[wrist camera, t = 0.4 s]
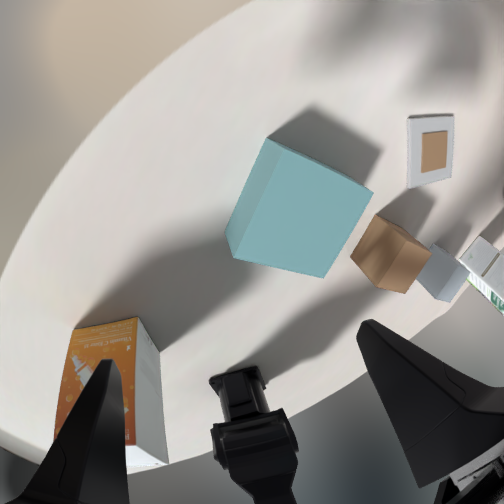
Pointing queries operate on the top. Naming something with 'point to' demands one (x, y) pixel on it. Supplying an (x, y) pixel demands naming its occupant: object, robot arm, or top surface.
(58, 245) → the top surface
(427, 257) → the walnut cube
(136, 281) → the top surface
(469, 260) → the syrup box
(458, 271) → the grey cube
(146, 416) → the small box
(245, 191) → the teal base block
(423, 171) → the tile
